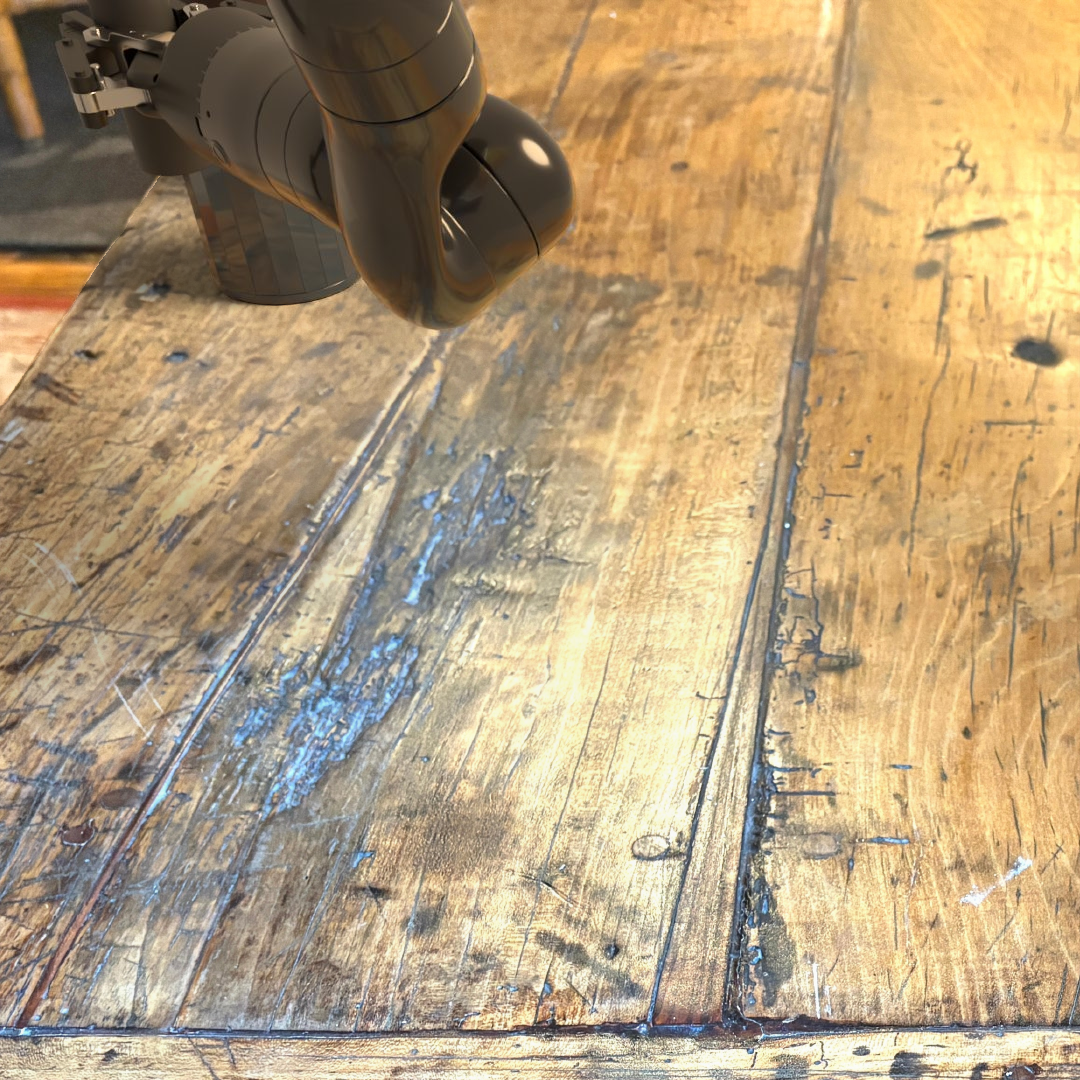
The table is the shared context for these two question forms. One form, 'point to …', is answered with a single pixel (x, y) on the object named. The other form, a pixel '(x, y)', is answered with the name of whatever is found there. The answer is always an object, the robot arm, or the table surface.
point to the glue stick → (153, 139)
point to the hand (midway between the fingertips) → (114, 22)
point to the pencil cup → (265, 243)
